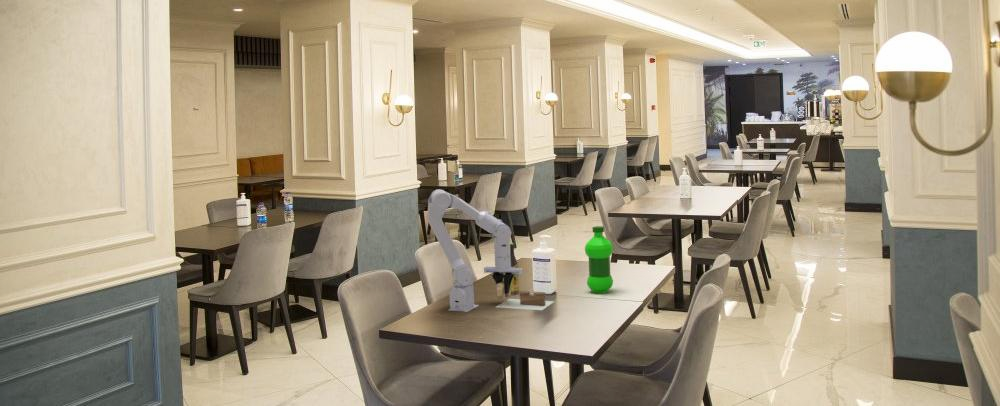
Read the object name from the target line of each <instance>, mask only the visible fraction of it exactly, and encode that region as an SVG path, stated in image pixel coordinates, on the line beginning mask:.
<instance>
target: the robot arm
mask: <svg viewBox="0 0 1000 406" xmlns="http://www.w3.org/2000/svg"><path fill="white" fill-rule="evenodd" d="M427 201H428V203H427V205H428V206H427V213H426V219H427V222H428V224H429V226H430V228H431V231H432V232H433V233H434V235H435V237H436V238H435V239H436V241H437V242H438V243H439V245H440V247H441V249H442V251H443V253H444V255H445V256H446V259H447V261H448V263H449V265H450V268H451V270H452V271H451V275H452V277H453V279H454V281H453V282H452V285H453V286H452V289H451V290H450V292H449V309H448V311H452V312H467V313H468V312H469V311H472V310H473V309H475V308H477V307H479V304H475V297H474V296H475V295H474V292H475V291H474V282H473V281H474V272H473V271H472V270H471V269H470V268H469V267H468V266H467V265H466V263H465V261H464V260H463V258H462V256H461V255H460V252H459V251H458V248H457V247H456V244H455V242H454V241H453V239H452V237H451V235H450V233H449V231H448V230H447V227H446V225H445V223H444V221H443V220H442V219H443V217H444V214H445V212H446V211H447V210H448V209H449V208H450V209H458V210H460V211H462V212H463V213H465V214H466V215H468V216H469V217H471V218H473V219H474V221H475V224H476V226H478V227H480V228H481V229H483V230H485V231H486V232H488V233H489V234H492V236H493V239H494V245H493V247H494V250H493V251H494V266H485V267H483V272H484V274H488V273H489V274H490V273H491V277H492V279H493V280H494V282H495V285H496V286H497V284H498V283H500V282H502V281H503V279H504V285H505V294H507V293H509V289H510V284H511V281H512V279H513V277H514V274H518V276H519V275H522V274H523V273H524V272H523V268H521V267H518V268H514V267H511V258H510V243H511V242H510V238H511V236H512V230H511V228H510V226H509V225H508V224H505V223H504V222H503V220H502V219H500V218H497V217H495V216H493V215H492V212H491V211H486V210H482V211H479V210H477V209H476V208H475V207H474V206H471V204H469V203H468V202H466V201H464V200H463V199H461V198H460V197H458V196H456V195H455V194H452V193H449V192H448V191H445V190H444V189H441V188H440V189H439V188H438V189H435V190H433V191H432V192H431V194H430V196H429V198H428V200H427ZM504 273H505V275H504Z"/></svg>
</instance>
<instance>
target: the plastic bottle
mask: <svg viewBox="0 0 1000 406" xmlns="http://www.w3.org/2000/svg"><path fill="white" fill-rule="evenodd" d="M591 227H592V233H593V235H594V236H593V237H592V238H590V240H588V241H587V242H586V243H585V246H584V252H585V255H586V256H587V257H588V273H589V274H588V277H587V280H586V285H587V288H589V290H591V292H593V293H594V294H606V293H608V291H610V290H611V288H612V286H613V284H614V279H613V277H612V275H611V261H610V260H611V259H610V257H611V255H612V254H613V250H614V246H613V244H612V242H611V241H610V240H609V239H607V238H606V237H605V236H604V234H603V233H604V232H605V226H599V225H598V226H591Z"/></svg>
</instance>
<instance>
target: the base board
mask: <svg viewBox="0 0 1000 406" xmlns="http://www.w3.org/2000/svg"><path fill="white" fill-rule="evenodd" d="M555 302H556V301H554V300H545V306H535V305H520V298H508V299H507V300H506V299H505V300H504V301H502V302H501V303H500V304H498V305H497V306H495V308H499V309H501V308H502V309H515V310H533V311H543V310H545V309H546V308H547V307H549V306H551V305H552V304H554V303H555Z"/></svg>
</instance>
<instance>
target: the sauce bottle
mask: <svg viewBox="0 0 1000 406" xmlns="http://www.w3.org/2000/svg"><path fill="white" fill-rule="evenodd" d="M510 258H511V267H514V268H519V263H518V261H517V258H516V255H515V244H514V243H513V242H510ZM504 275H505V273H504ZM503 281H504V279H503ZM510 287H511V296H516V295H519V294H520V291H519V290H520V285H519V275H518V274H514V277H513V279H512V281H511V284H510Z"/></svg>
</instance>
